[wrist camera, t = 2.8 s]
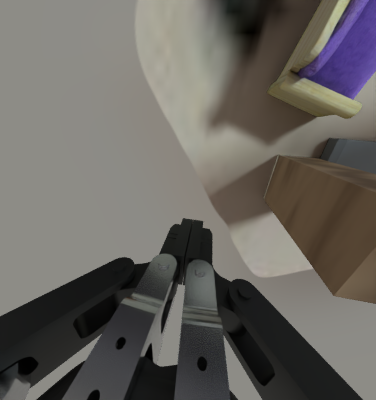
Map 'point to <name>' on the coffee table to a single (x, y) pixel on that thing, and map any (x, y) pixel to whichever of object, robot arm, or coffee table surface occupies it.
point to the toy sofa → (331, 60)
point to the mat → (351, 154)
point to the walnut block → (329, 220)
